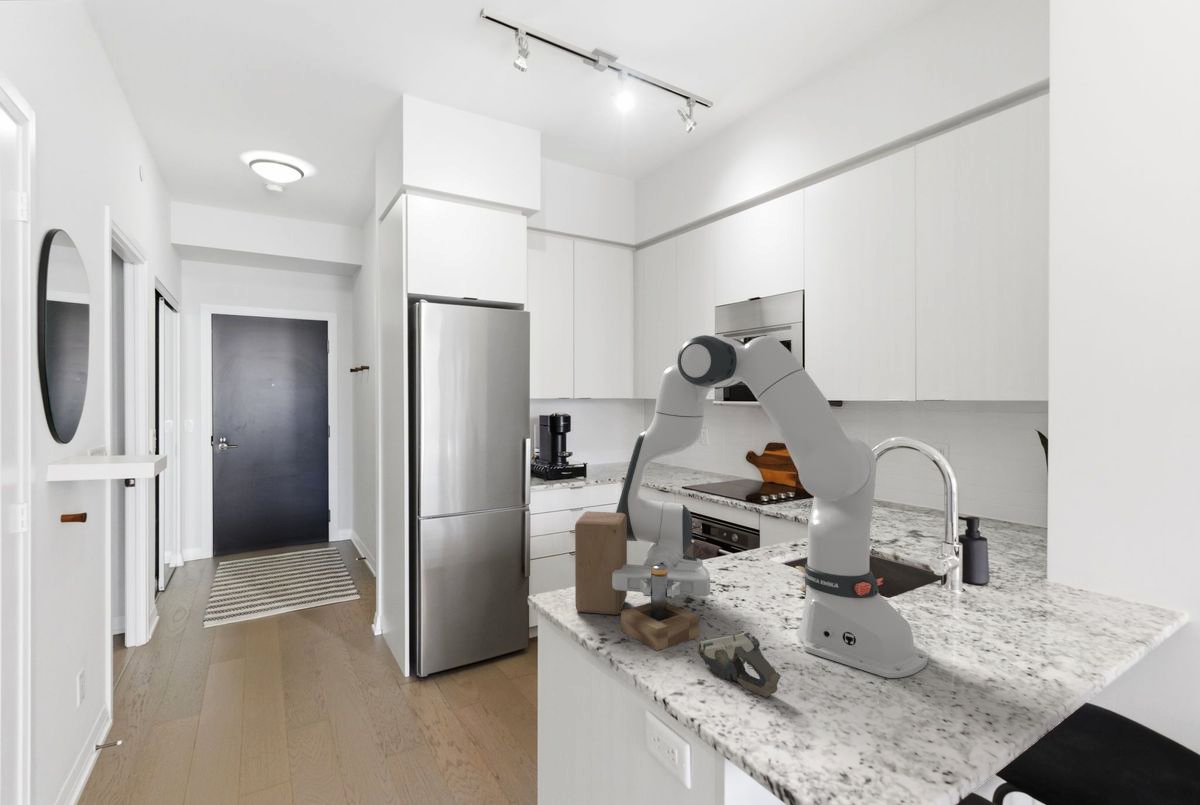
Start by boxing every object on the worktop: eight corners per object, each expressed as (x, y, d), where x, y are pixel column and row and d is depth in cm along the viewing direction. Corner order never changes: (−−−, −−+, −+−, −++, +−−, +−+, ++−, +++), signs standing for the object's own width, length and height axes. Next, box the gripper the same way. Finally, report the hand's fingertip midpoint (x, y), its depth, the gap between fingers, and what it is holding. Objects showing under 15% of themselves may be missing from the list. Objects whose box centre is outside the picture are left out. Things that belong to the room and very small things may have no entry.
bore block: (698, 636, 113) (698, 616, 113) (657, 650, 106) (657, 629, 106) (661, 618, 122) (661, 599, 121) (621, 630, 115) (621, 610, 115)
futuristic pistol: (719, 697, 100) (700, 637, 103) (786, 690, 90) (763, 624, 93) (709, 701, 99) (690, 640, 102) (777, 696, 88) (753, 628, 91)
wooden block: (620, 617, 122) (620, 524, 121) (574, 613, 124) (573, 521, 123) (627, 598, 132) (627, 512, 131) (584, 594, 134) (584, 510, 133)
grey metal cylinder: (669, 620, 115) (670, 565, 114) (662, 626, 112) (663, 570, 112) (654, 617, 116) (655, 563, 116) (647, 622, 114) (648, 567, 113)
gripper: (615, 554, 128) (606, 574, 115) (709, 559, 125) (711, 580, 111) (615, 582, 129) (606, 605, 115) (708, 588, 125) (710, 612, 112)
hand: (658, 593), depth 113 cm, fingers closed on grey metal cylinder, 3 cm apart
